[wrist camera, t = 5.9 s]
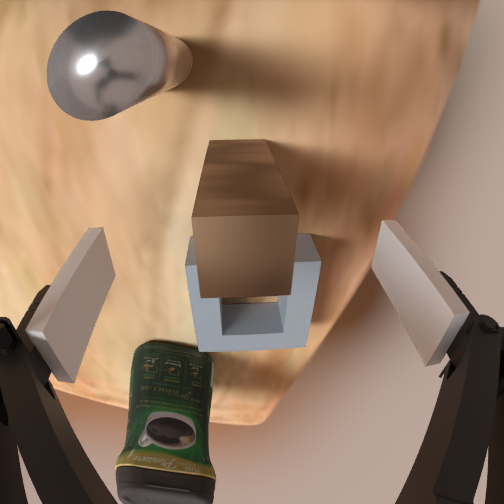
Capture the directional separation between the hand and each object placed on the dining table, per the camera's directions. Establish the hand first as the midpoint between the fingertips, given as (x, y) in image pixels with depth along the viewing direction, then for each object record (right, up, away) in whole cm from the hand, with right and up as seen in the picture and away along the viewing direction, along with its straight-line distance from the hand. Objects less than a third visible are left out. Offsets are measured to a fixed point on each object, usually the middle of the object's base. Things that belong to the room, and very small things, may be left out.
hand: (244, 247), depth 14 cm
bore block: (0, -3, +15) cm, 15 cm away
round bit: (-6, +13, +4) cm, 14 cm away
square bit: (-1, +6, +8) cm, 10 cm away
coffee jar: (-9, -13, +21) cm, 26 cm away
